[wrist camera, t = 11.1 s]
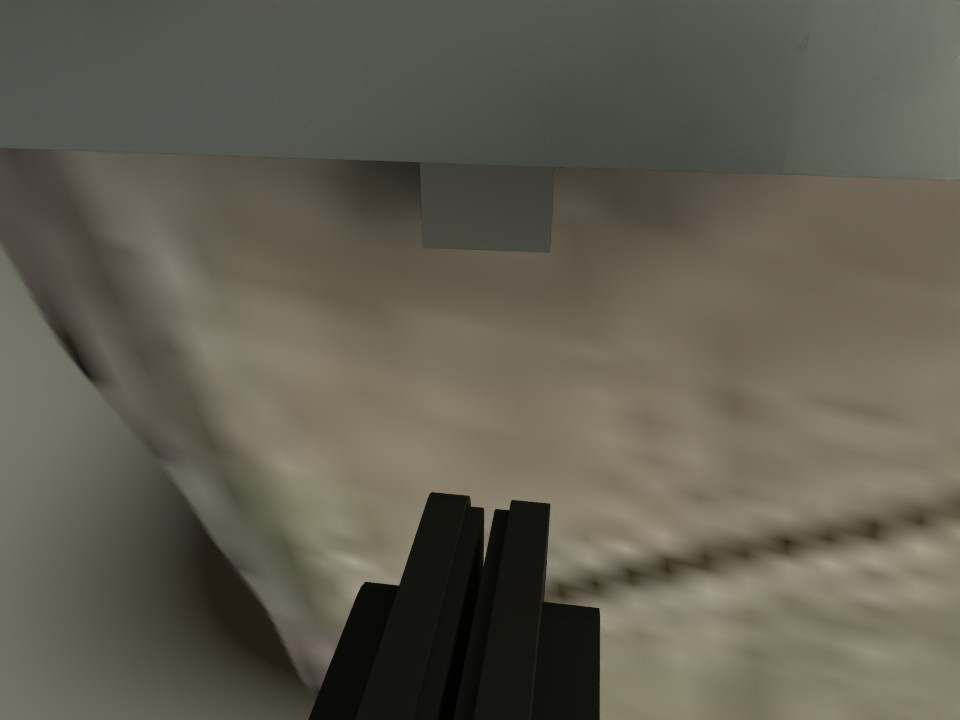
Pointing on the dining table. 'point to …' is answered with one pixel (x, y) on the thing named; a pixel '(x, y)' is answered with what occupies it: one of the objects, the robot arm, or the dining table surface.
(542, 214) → the plug
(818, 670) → the dining table surface
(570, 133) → the grey boxy piece
